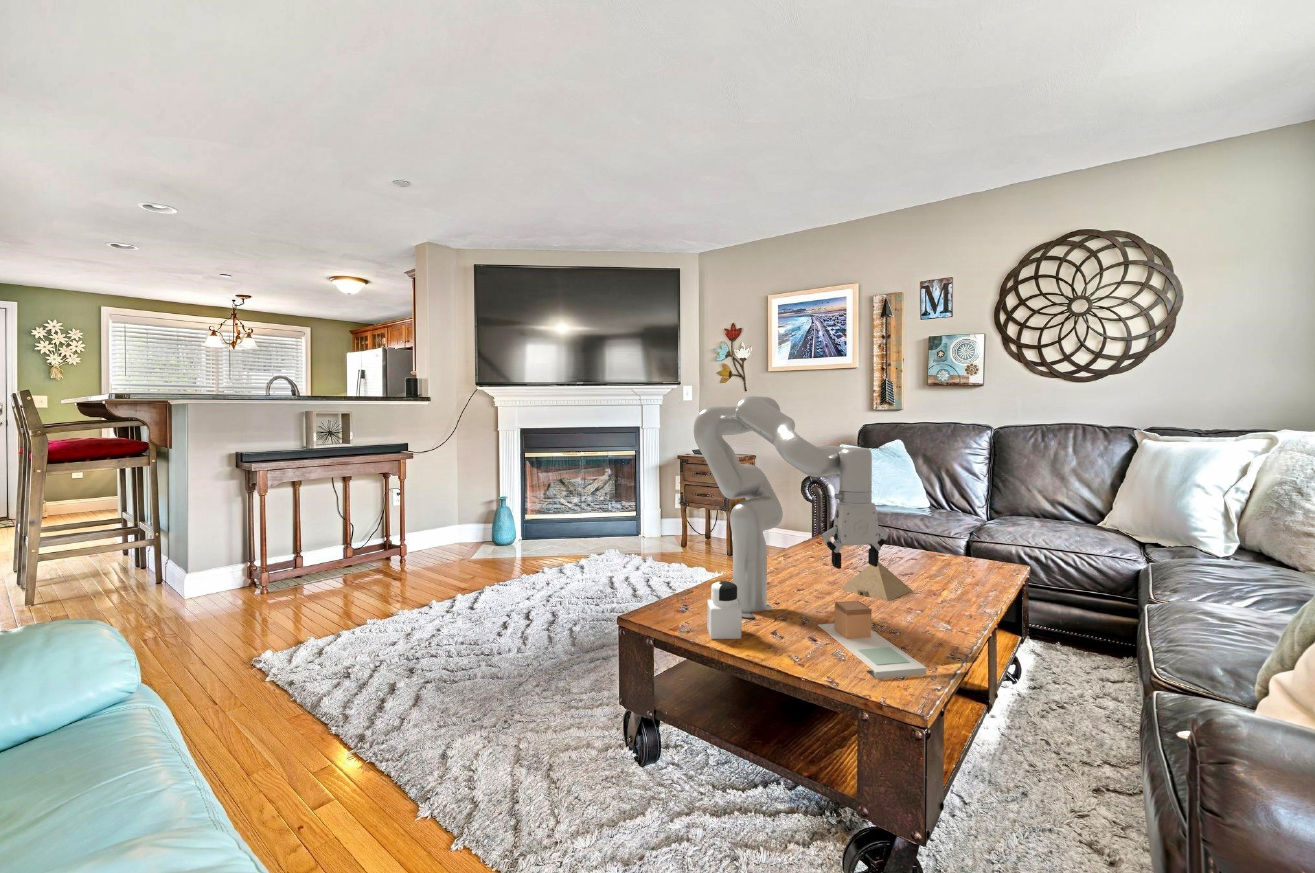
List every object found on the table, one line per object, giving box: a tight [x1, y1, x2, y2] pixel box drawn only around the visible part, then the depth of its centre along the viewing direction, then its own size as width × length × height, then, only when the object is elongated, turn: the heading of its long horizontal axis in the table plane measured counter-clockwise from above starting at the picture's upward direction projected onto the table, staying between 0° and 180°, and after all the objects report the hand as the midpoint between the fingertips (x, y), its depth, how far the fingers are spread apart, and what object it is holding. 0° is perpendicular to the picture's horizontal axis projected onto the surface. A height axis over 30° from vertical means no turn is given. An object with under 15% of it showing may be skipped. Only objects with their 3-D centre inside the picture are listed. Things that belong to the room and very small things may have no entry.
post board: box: [817, 623, 928, 680], centre depth 141 cm, size 12×28×6 cm, turn 10°
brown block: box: [833, 600, 872, 639], centre depth 148 cm, size 6×6×7 cm
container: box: [706, 580, 743, 640], centre depth 151 cm, size 8×8×13 cm
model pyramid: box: [839, 561, 913, 602], centre depth 188 cm, size 17×17×10 cm
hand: (855, 566), depth 147 cm, fingers open, 9 cm apart
